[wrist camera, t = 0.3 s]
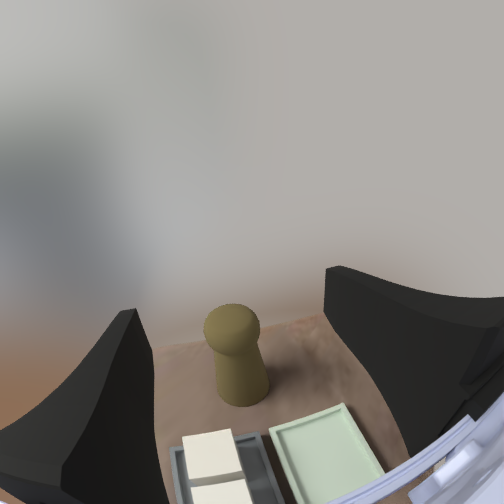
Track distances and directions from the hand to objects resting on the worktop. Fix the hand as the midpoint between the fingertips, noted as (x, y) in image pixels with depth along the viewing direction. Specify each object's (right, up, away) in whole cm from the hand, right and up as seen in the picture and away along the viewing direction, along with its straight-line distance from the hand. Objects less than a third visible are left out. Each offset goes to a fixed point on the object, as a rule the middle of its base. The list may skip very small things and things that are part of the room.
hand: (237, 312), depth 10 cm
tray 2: (+7, -17, +9) cm, 21 cm away
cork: (0, -13, +19) cm, 23 cm away
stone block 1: (-2, -18, +10) cm, 20 cm away
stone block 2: (-1, -20, +5) cm, 21 cm away
